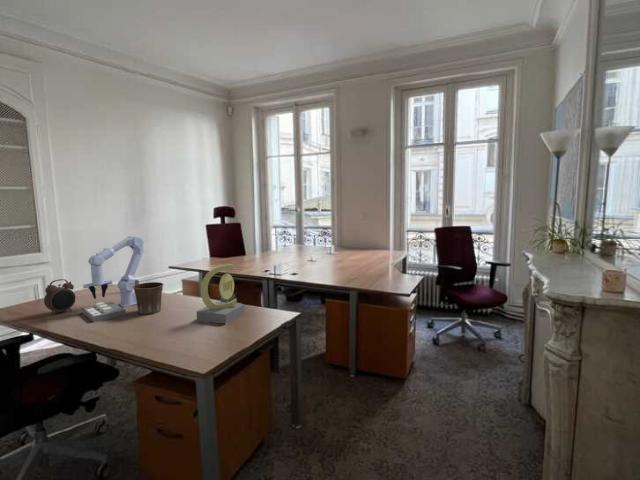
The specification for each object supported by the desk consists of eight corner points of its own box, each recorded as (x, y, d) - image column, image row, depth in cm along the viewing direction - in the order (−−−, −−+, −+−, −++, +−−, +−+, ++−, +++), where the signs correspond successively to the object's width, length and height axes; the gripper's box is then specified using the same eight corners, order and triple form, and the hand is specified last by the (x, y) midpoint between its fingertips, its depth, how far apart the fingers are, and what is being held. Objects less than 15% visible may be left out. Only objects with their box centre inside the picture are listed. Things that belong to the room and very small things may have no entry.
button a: (102, 307, 209) (102, 302, 208) (104, 308, 206) (104, 303, 206) (95, 308, 206) (95, 303, 206) (97, 309, 204) (96, 304, 203)
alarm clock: (50, 317, 197) (47, 283, 195) (44, 315, 200) (41, 281, 198) (78, 310, 209) (75, 277, 207) (72, 308, 213) (69, 276, 211)
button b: (106, 309, 204) (105, 304, 204) (108, 310, 202) (107, 305, 201) (99, 311, 201) (98, 305, 201) (100, 312, 199) (100, 307, 198)
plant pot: (170, 307, 213) (168, 282, 211) (155, 316, 197) (153, 288, 195) (145, 307, 214) (143, 281, 212) (128, 315, 198) (126, 288, 196)
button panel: (112, 306, 216) (112, 301, 215) (126, 314, 199) (125, 309, 199) (82, 312, 204) (81, 307, 204) (94, 322, 188) (93, 316, 187)
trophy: (226, 324, 183) (223, 269, 179) (197, 321, 189) (194, 267, 185) (244, 313, 200) (242, 262, 197) (217, 310, 206) (215, 261, 203)
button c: (110, 311, 199) (109, 306, 199) (112, 313, 197) (111, 307, 196) (102, 313, 197) (102, 308, 196) (104, 315, 194) (104, 309, 194)
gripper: (84, 278, 196) (86, 301, 197) (113, 274, 207) (114, 296, 208) (81, 276, 201) (83, 299, 202) (109, 272, 211) (111, 294, 213)
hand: (99, 297), depth 205 cm, fingers open, 4 cm apart
